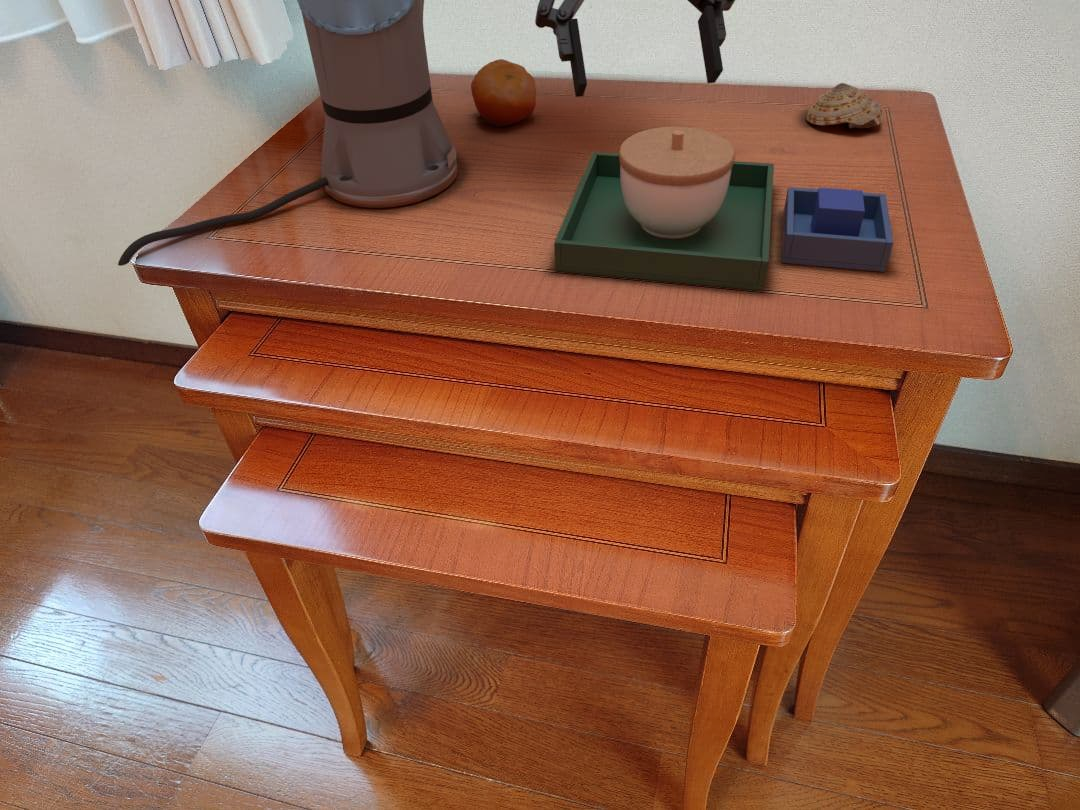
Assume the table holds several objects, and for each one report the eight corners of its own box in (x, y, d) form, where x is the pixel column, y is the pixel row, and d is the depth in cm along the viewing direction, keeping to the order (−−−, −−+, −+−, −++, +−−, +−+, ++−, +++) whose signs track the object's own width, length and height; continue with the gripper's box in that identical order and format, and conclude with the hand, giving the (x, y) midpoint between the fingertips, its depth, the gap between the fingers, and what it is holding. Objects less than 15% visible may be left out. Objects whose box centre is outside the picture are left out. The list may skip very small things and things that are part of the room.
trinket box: (723, 255, 75) (735, 161, 69) (610, 247, 77) (612, 154, 71) (727, 200, 83) (738, 111, 77) (624, 194, 85) (627, 107, 79)
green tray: (555, 271, 76) (554, 242, 74) (592, 178, 89) (592, 151, 87) (763, 291, 72) (768, 261, 70) (769, 190, 86) (774, 163, 84)
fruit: (504, 87, 106) (518, 41, 99) (535, 133, 105) (553, 89, 98) (452, 104, 103) (464, 57, 96) (484, 151, 102) (498, 107, 94)
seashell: (876, 124, 91) (819, 84, 93) (847, 162, 96) (793, 124, 97) (900, 100, 96) (846, 62, 97) (872, 137, 101) (820, 101, 102)
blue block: (811, 245, 76) (819, 207, 73) (810, 224, 79) (818, 187, 76) (855, 249, 75) (865, 210, 73) (853, 227, 78) (862, 190, 75)
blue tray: (781, 263, 75) (786, 233, 73) (783, 214, 82) (788, 186, 80) (885, 272, 73) (893, 242, 71) (878, 222, 80) (885, 193, 78)
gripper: (724, -107, 85) (756, 88, 84) (491, -88, 82) (521, 112, 81) (750, -160, 77) (784, 52, 76) (494, -142, 75) (526, 78, 74)
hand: (648, 84), depth 79 cm, fingers open, 13 cm apart
